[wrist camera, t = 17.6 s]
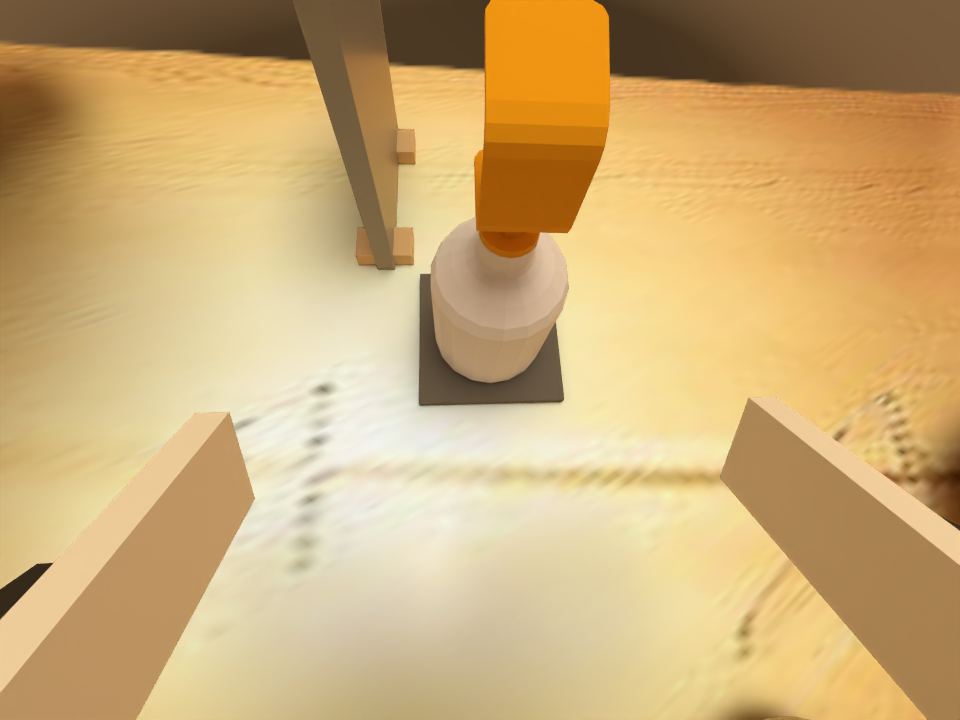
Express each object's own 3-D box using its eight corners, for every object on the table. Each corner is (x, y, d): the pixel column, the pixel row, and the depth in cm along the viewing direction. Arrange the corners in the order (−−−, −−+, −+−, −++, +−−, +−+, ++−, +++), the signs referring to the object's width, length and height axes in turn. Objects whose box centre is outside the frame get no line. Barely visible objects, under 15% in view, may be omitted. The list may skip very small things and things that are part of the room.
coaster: (419, 405, 34) (419, 403, 34) (420, 278, 38) (420, 274, 38) (561, 401, 35) (564, 399, 35) (548, 278, 39) (550, 273, 39)
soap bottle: (535, 288, 38) (665, -52, 15) (542, 384, 35) (720, 146, 12) (436, 287, 37) (411, -69, 14) (435, 385, 34) (400, 135, 11)
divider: (358, 269, 38) (175, -197, 13) (367, 136, 44) (249, -379, 18) (413, 269, 39) (338, -184, 13) (415, 138, 44) (364, -366, 19)
